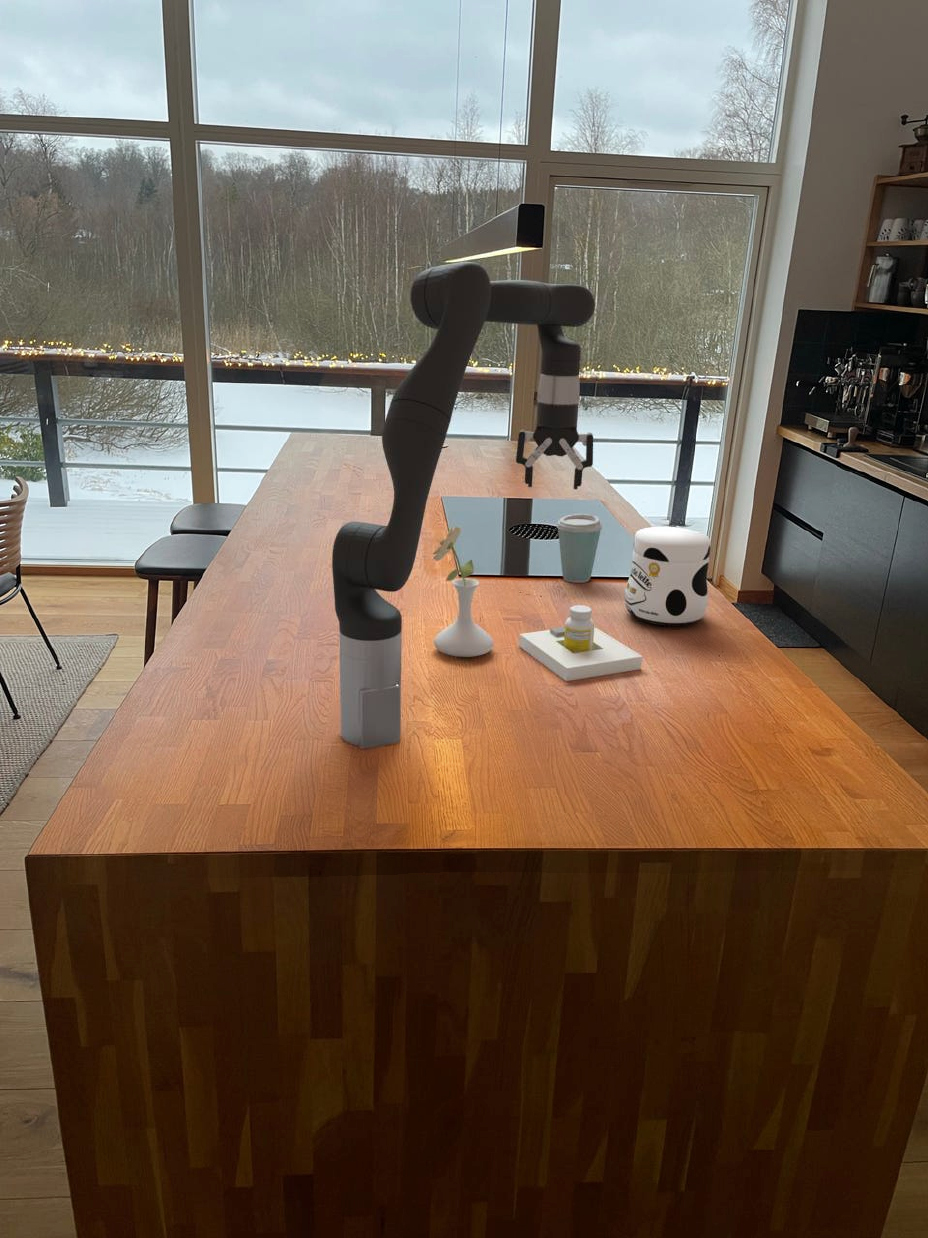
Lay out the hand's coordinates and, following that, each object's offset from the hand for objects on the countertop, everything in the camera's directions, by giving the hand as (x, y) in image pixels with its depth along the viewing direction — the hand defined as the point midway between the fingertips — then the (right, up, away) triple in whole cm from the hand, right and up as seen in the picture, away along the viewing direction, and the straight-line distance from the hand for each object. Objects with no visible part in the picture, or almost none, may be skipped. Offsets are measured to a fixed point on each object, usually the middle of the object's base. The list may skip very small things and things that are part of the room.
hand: (552, 487), depth 179 cm
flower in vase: (-17, -31, +1) cm, 36 cm away
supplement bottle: (+5, -32, +1) cm, 33 cm away
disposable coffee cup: (+10, -16, +47) cm, 51 cm away
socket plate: (+5, -32, 0) cm, 32 cm away
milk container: (+26, -25, +23) cm, 43 cm away
